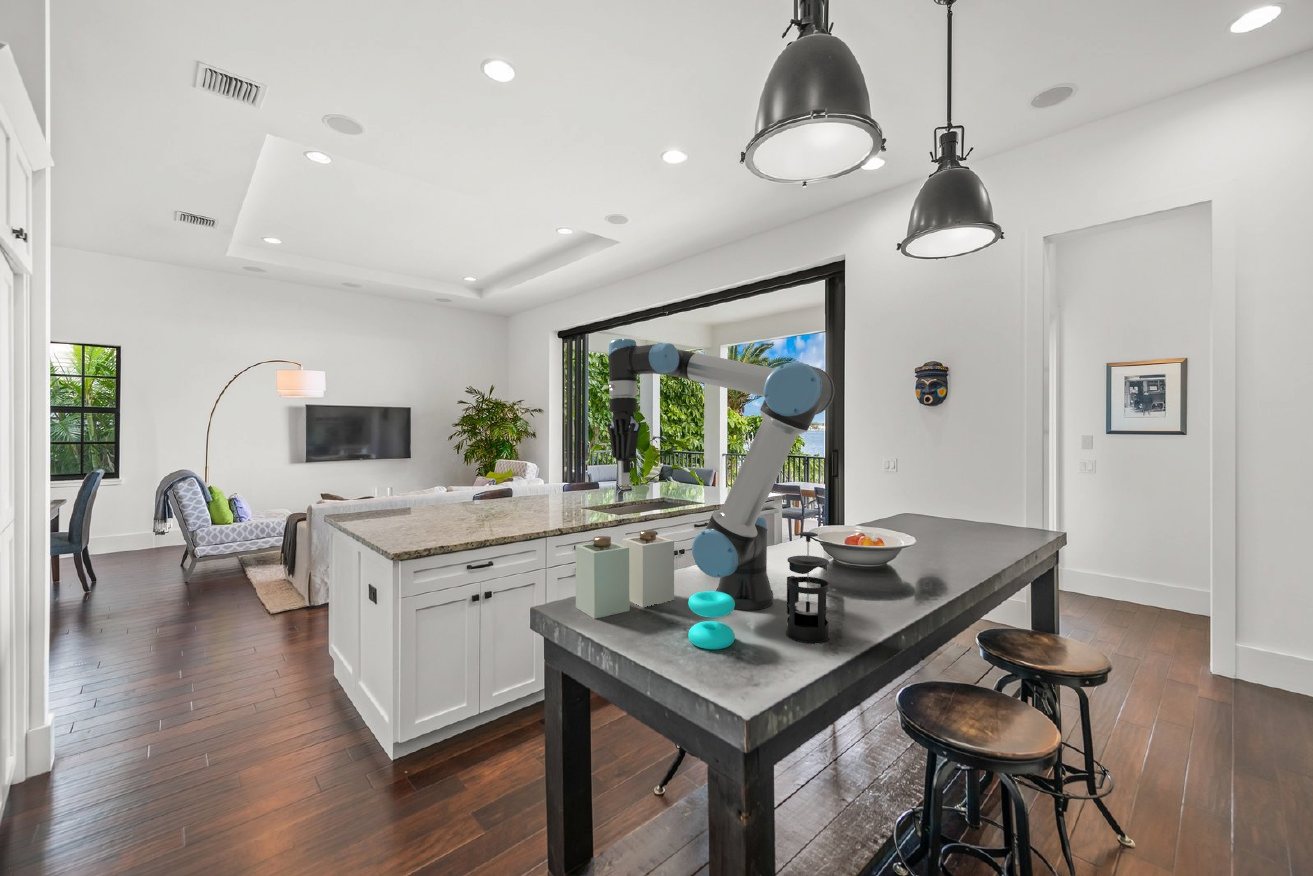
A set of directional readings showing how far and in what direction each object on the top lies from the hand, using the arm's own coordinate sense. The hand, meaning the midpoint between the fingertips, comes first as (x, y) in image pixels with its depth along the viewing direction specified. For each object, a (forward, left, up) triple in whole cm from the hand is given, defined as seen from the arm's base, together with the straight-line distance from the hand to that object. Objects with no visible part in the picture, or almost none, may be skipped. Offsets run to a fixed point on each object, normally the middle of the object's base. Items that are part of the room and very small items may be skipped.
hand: (624, 484), depth 150 cm
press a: (-5, -4, -31) cm, 31 cm away
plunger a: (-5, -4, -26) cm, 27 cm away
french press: (-46, -19, -31) cm, 59 cm away
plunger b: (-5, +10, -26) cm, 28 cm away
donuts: (-37, +1, -31) cm, 49 cm away
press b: (-5, +10, -31) cm, 33 cm away
